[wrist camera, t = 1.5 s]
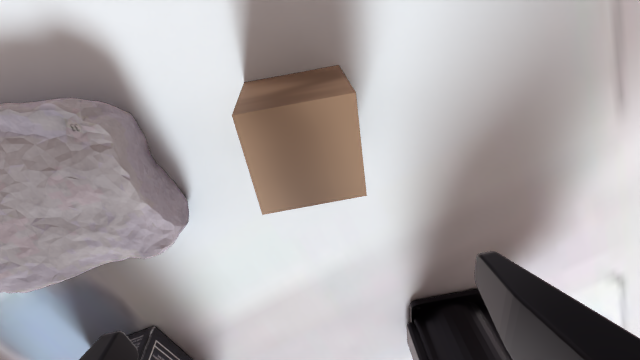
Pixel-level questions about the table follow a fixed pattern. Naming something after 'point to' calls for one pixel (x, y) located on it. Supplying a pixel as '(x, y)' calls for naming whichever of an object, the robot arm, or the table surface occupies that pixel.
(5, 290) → the stone block
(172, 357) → the small box
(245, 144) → the tan cube
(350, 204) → the table surface
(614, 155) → the table surface
